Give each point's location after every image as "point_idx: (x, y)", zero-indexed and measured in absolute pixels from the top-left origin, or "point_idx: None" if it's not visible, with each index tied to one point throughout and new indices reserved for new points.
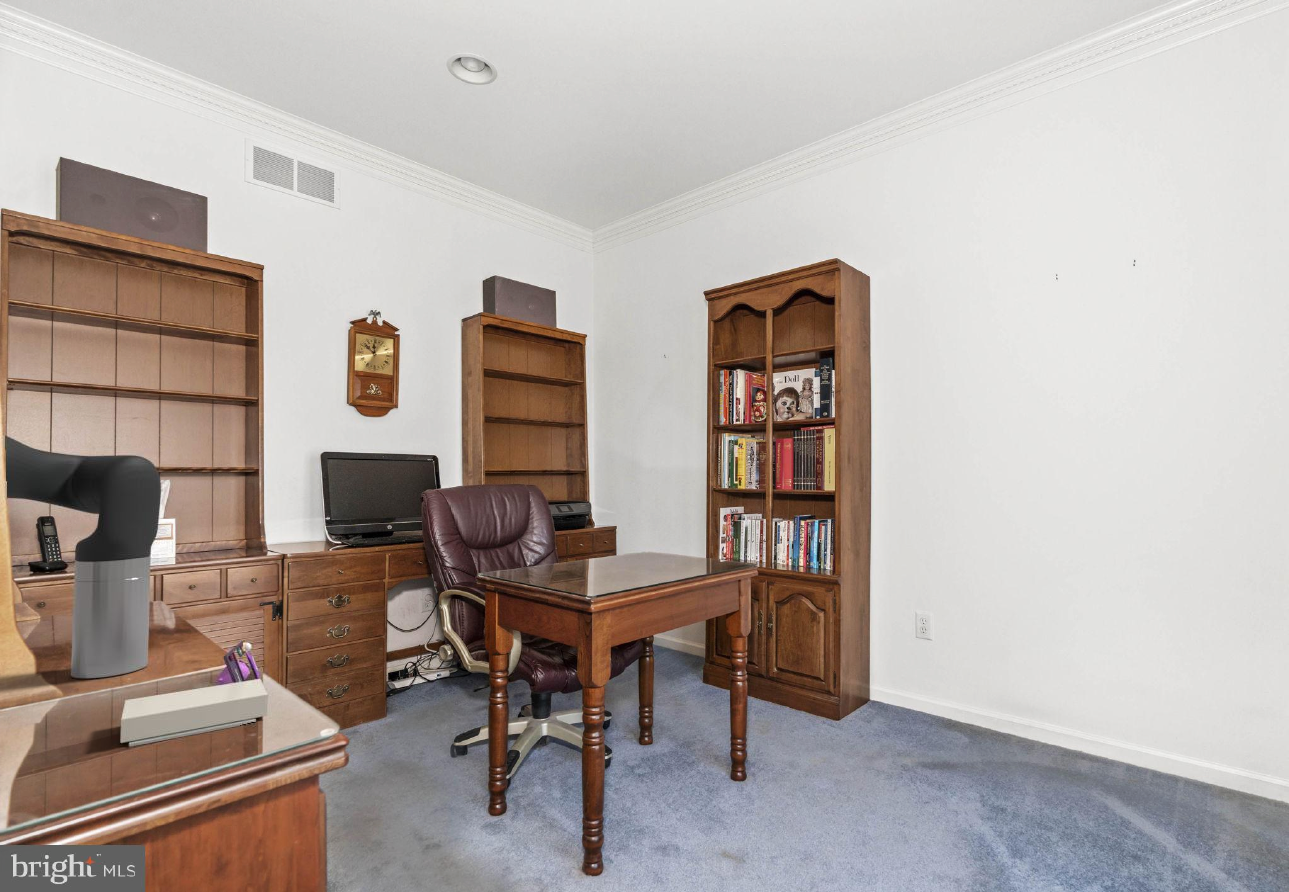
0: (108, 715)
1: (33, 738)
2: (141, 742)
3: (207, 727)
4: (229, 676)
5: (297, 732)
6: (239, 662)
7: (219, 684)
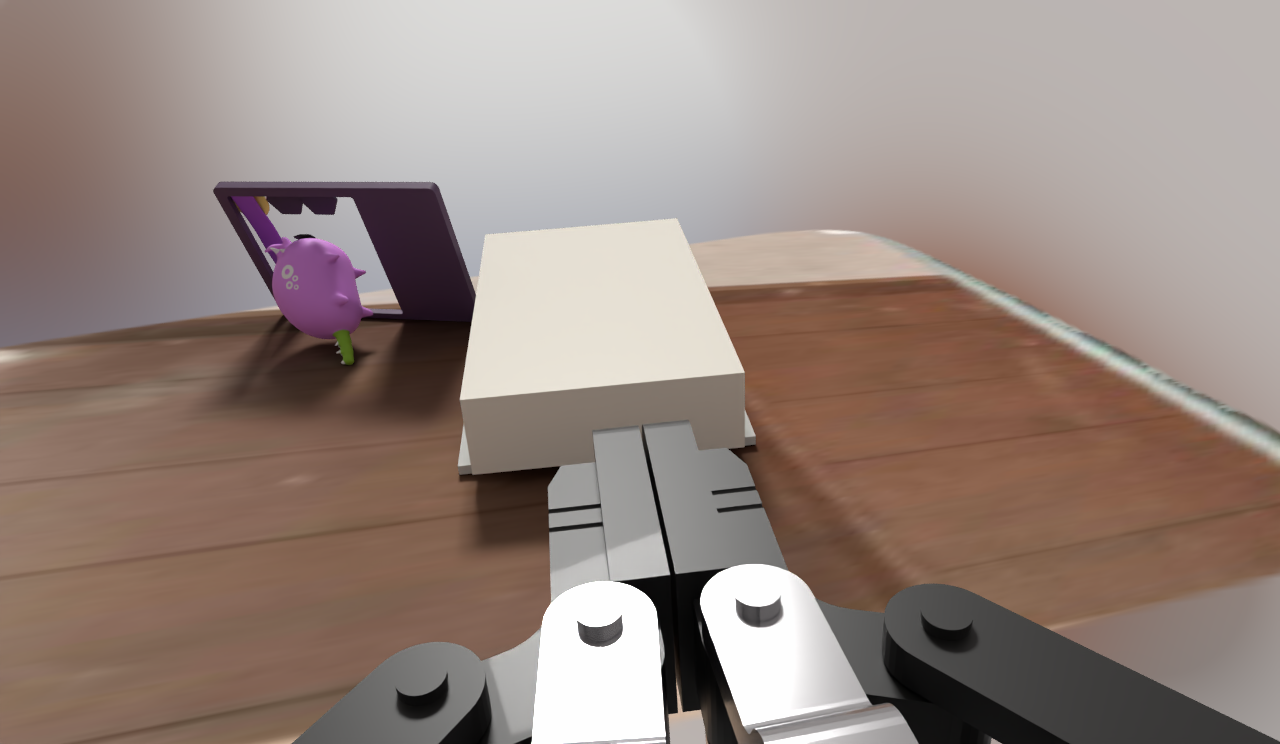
0: (257, 551)
1: None
2: (746, 420)
3: None
4: (349, 281)
5: (820, 252)
6: (314, 238)
7: (345, 314)
